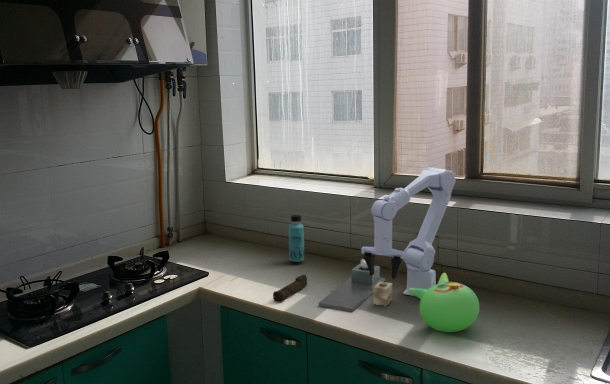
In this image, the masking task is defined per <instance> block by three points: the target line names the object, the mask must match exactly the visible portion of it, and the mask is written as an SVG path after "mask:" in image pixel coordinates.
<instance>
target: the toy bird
mask: <svg viewBox="0 0 610 384" xmlns="http://www.w3.org/2000/svg"><path fill="white" fill-rule="evenodd" d="M408 291H409V292H410V293H412V294H413V295H415V296H414V297H416V298H418V299H420V300H419V314H420V316H421V318H422V320H423V321H424V322H425V323H426V325H427V326H429V327H430V328H432V329H434V330H436V331H439V332H442V333H455V332H457V333H458V332H461V331H463V330H466V329H467V328H469V327H470V326H471V325H473V324H474V322H475V321H476V319H477V318H478V316H479V312H480V302H479V299H478V296H477V295H476V293H475V292H474V290H472V289H471V288H470V287H468V286H467V285H465V284H462V283H459V282H454V281H449V278H448V275H447V273H446V272H443V273H441V275H440V277H439V279H438V282H437V283H436V284H435V285H434V286H432V287H430V288H429V289H421V288H409V289H408Z"/></svg>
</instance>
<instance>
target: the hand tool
mask: <svg viewBox="0 0 610 384" xmlns="http://www.w3.org/2000/svg"><path fill="white" fill-rule="evenodd" d="M294 279H295V280H294V281H293V282H291V283H289V284H288V285H285V286H284V287H282V288H280V289H279V290H275V291H273V293H272V298H273V301H274V302H277V303H282V302H284V301H285V299H286V298H288V297H290V296H292V295H293V294H295V293H296V292H298V291H303V290H304V289H305V288H306V287H307V286H308V276H307V275H306V274H300V276H297V277H295V278H294Z"/></svg>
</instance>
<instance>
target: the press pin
mask: <svg viewBox="0 0 610 384" xmlns="http://www.w3.org/2000/svg"><path fill="white" fill-rule="evenodd" d="M360 264H361V270H367V271H369V269H368V266H367V263H366V261H365V260H364V258H362V259H360Z"/></svg>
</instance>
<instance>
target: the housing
mask: <svg viewBox="0 0 610 384" xmlns="http://www.w3.org/2000/svg"><path fill="white" fill-rule="evenodd" d="M391 300H392V301H393V283H392V282H387V281H385V282H379V283H378V284H377V285H376V286H374V292H373V305H375V304H376V306H380V305H383V306H382V307H387V306H388V305H389V304H390V303H391V302H392V301H391ZM390 301H391V302H390Z"/></svg>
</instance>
